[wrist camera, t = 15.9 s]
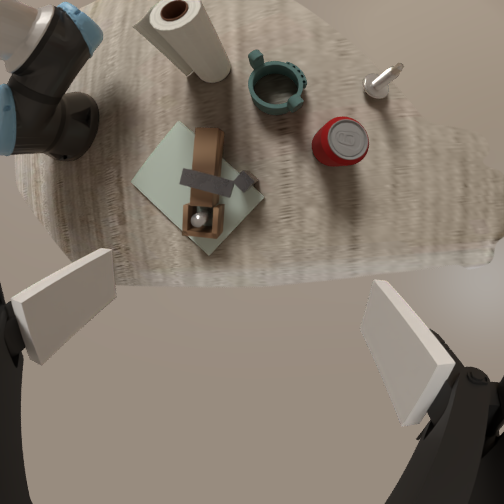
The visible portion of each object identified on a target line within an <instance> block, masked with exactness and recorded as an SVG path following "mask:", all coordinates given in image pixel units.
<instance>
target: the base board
mask: <svg viewBox="0 0 504 504" xmlns="http://www.w3.org/2000/svg"><path fill="white" fill-rule="evenodd" d="M194 138H195V133H193V132H192V131H191V130H190V129H189V128H187V127H186V126H185V125H184V124H183V123H182V122H180V121H178V122H177V123H176V124H175V125H174V127H173V128H172V129H171V130H170V131H169V132H168V134H167V135H166V136H165V137H164V139H163V140H162V141H161V142H160V144H159V145H158V146H157V147H156V149H155V150H154V151H153V152H152V154H151V155H150V156H149V158H148V159H147V160H146V162H145V163H144V164H143V166H142V167H141V168H140V170H139V171H138V172H137V174H136V175H135V177H134V178H133V179H132V181H131V182H132V183H133V184H134V185H135V186H136V187H137V188H138V189H139V190H140V191H141V192H142V193H143V194H144V195H145V196H146V197H147V198H148V199H149V200H150V201H151V202H152V203H153V204H154V205H155V206H156V207H157V208H158V209H160V210H161V211H162V212H163V213H164V214H165V215H166V216H167V217H168V218H169V219H170V220H171V221H172V222H173V223H174V224H175V225H176V226H177V227H179V228H180V229H181V230H182V223H183V205H185V204H187V203H190V190H191V187H188V186H184V185H180V184H179V183H180V179H181V175H182V171H183V168H187V169H191V170H192V162H193V149H194ZM239 174H240V173H239V172H237V171H236V170H235V169H234V168H233V167H232V166H231V165H230V164H229V163H228V162H226V161H225V160H224V159H223V158H222V166H221V177H222V178H226V179H230V180H233V181H234V180H235V179H236V177H237V176H238V175H239ZM263 198H264V196H263V195H262V194H261V193H260V192H259V191H258V190H257V189H256V188H255V187H254V186H252V187H251V188H250V189H249V190H248V191H246V192H244V193H243V192H242V191H241V190H240V189H239V188H238V187H237V186H236V185H235V184H234V187H233V190H232V194H231V197H230V198H228V197H225V196H221V195H219V204H225V208H224V222H223V232H222V234H221V235H220V236H219V237H218V238H217V239H212V238H203V237H193V236H188V237H189V238H190V239H191V240H192V241H194V242H195V243H196V244H197V245H198V246H199V247H200V248H201V249H202V250H203V251H204V252H206V253H207V254H208V255H209V256H210V254H211V253H212V252H213V251H214V250H215V249H216V248H217V247H218V246H219V245H220V244H221V243H222V242H223V240H224V239H225V238H226V237H227V236H228V235H229V234H230V233H231V232H232V231H233V230H234V229H235V228H236V227H237V226H238V225H239V223H240V222H241V221H242V220H243V219H244V218H245V217H246V216H247V215H248V214H249V213H250V212H251V211H252V210H253V209H254V208H255V207H256V206H257V205H258V204H259V203H260V201H261V200H262V199H263ZM219 204H217V205H219ZM217 205H215V206H217ZM215 206H213V207H215ZM213 207H203V206H197V213H198V212H200V211H202V210H204V209H206V208H210V209H212V210H213ZM212 223H213V218H212V219H210V220H209V221H208V222H206V223H205V224H204V226H212Z"/></svg>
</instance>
